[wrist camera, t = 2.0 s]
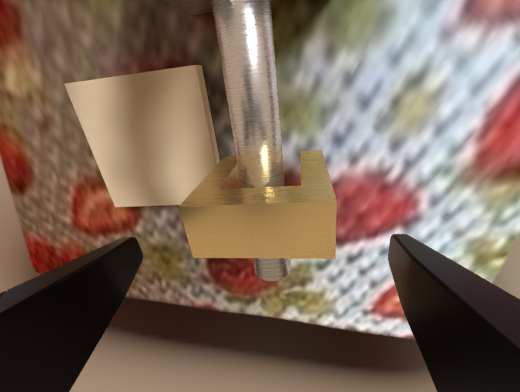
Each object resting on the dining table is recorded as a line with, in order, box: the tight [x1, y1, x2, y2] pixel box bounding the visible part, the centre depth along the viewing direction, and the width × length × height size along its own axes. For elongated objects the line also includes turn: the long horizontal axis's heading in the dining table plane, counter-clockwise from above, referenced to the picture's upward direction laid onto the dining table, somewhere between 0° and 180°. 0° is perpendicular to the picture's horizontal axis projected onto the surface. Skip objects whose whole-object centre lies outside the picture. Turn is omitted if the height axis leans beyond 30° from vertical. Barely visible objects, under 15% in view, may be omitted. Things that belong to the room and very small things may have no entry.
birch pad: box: [64, 65, 220, 207], centre depth 17 cm, size 9×9×1 cm
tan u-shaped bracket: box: [179, 150, 337, 259], centre depth 12 cm, size 6×2×6 cm, turn 97°
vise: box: [164, 0, 291, 281], centre depth 11 cm, size 8×19×9 cm, turn 7°
